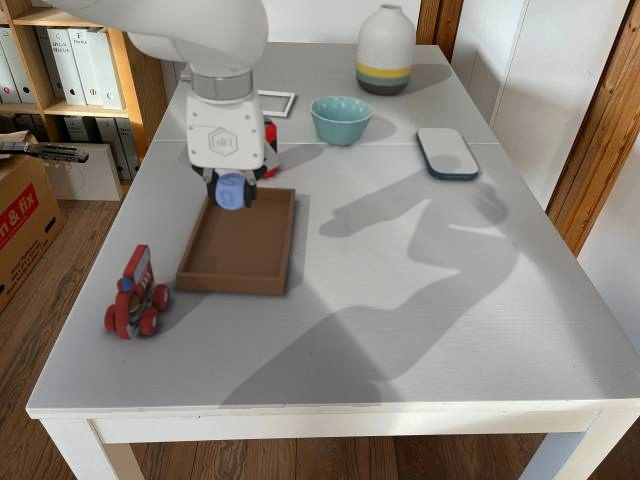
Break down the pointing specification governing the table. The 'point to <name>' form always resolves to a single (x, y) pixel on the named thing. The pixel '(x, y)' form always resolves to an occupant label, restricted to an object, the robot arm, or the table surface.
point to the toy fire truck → (136, 298)
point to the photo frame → (278, 95)
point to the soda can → (270, 141)
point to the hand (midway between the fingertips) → (233, 201)
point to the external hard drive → (446, 154)
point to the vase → (385, 51)
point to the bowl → (340, 119)
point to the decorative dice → (231, 191)
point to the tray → (240, 246)
